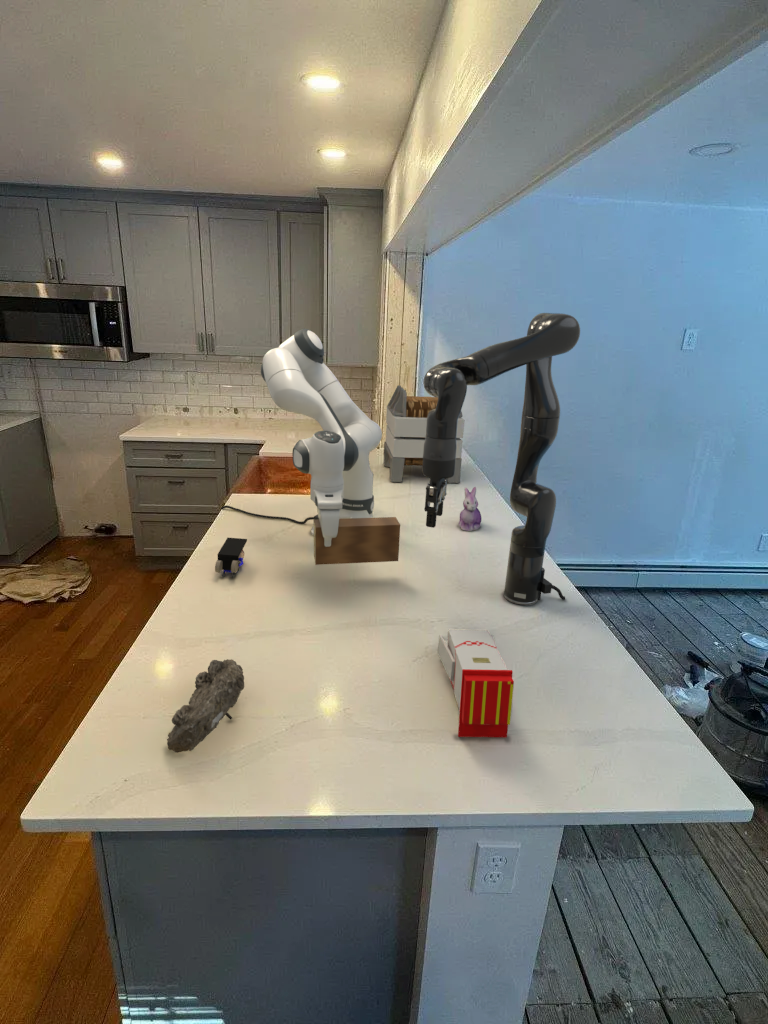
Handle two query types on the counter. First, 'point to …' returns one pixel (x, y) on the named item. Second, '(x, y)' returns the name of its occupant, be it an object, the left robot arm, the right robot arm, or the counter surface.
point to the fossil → (206, 705)
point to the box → (359, 541)
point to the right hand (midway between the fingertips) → (434, 520)
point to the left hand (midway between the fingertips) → (326, 540)
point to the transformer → (412, 434)
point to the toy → (478, 682)
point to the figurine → (470, 512)
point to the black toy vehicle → (230, 556)
